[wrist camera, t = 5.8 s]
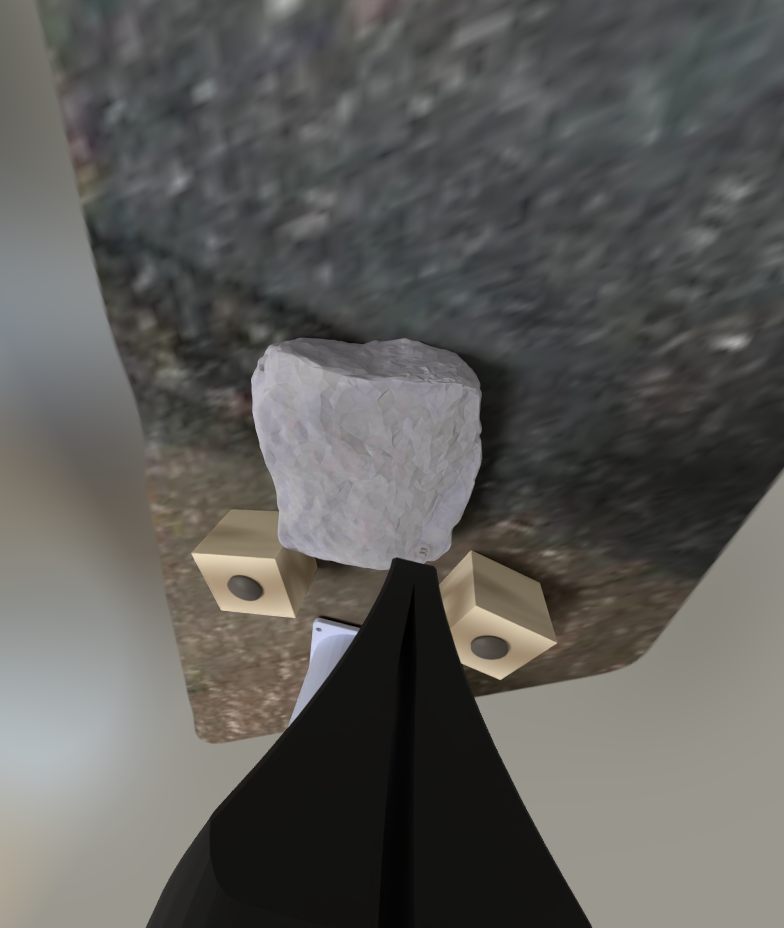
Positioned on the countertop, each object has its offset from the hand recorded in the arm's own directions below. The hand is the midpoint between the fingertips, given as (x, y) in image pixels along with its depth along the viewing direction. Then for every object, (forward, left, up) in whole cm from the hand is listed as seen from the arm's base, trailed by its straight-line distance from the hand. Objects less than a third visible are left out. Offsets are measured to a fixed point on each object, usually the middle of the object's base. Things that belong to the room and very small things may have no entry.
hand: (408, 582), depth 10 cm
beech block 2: (-8, -6, -8) cm, 13 cm away
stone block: (0, +2, -8) cm, 9 cm away
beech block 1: (-9, +8, -8) cm, 14 cm away
